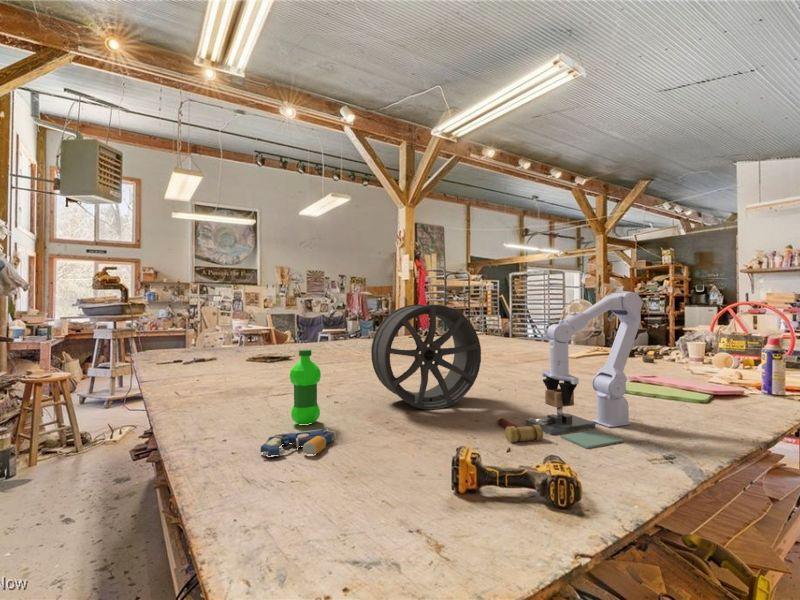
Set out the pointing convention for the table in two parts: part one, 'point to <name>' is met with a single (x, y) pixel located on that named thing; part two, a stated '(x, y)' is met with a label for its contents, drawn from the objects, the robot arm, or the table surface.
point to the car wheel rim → (429, 356)
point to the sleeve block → (556, 398)
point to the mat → (591, 439)
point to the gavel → (520, 431)
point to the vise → (560, 423)
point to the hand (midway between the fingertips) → (559, 402)
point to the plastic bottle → (305, 389)
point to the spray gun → (298, 442)
